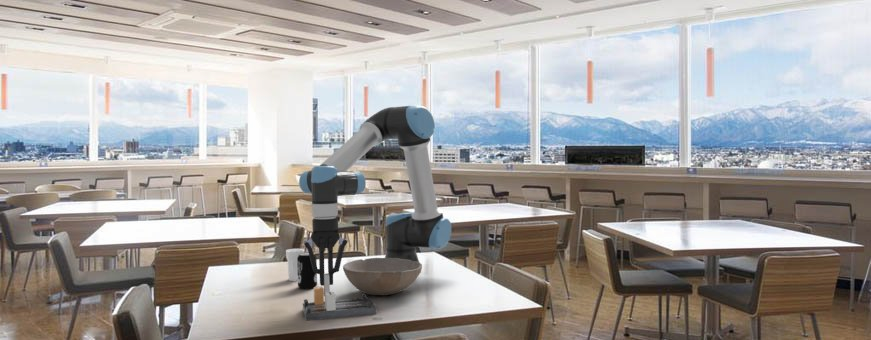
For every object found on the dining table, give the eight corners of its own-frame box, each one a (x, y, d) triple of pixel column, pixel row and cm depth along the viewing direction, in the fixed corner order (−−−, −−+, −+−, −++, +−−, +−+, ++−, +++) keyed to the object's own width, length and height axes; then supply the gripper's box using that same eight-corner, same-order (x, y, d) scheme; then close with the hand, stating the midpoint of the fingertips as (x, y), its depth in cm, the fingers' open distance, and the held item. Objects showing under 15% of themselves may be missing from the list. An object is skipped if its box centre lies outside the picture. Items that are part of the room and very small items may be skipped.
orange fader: (322, 301, 180) (322, 286, 180) (323, 304, 177) (323, 288, 177) (313, 302, 179) (313, 286, 179) (315, 304, 176) (314, 289, 176)
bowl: (403, 281, 216) (402, 254, 216) (436, 297, 192) (435, 266, 192) (332, 290, 204) (332, 261, 204) (358, 307, 181) (358, 274, 180)
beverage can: (312, 289, 205) (311, 255, 204) (294, 289, 206) (293, 254, 206) (320, 285, 211) (319, 251, 211) (302, 285, 212) (301, 251, 212)
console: (368, 304, 185) (368, 293, 184) (376, 314, 173) (376, 303, 173) (302, 309, 179) (302, 299, 179) (306, 320, 167) (306, 309, 167)
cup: (291, 282, 217) (291, 252, 217) (283, 279, 222) (282, 250, 222) (308, 279, 222) (307, 250, 221) (299, 276, 227) (298, 247, 226)
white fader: (333, 307, 173) (333, 291, 173) (335, 310, 170) (335, 294, 170) (325, 307, 172) (324, 292, 172) (326, 311, 169) (326, 294, 169)
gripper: (345, 215, 183) (346, 291, 184) (301, 217, 180) (303, 294, 180) (348, 217, 176) (350, 296, 177) (303, 219, 172) (305, 300, 173)
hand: (326, 295), depth 179 cm, fingers closed
